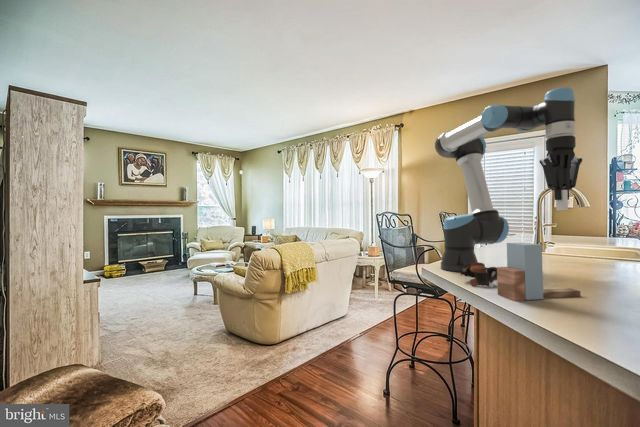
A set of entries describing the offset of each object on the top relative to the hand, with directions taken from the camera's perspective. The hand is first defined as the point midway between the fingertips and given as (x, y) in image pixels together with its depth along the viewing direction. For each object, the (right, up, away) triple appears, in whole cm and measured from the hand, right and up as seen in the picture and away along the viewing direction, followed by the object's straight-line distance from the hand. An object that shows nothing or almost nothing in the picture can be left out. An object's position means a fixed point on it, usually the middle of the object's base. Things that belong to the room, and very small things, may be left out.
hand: (562, 210), depth 98 cm
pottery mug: (-24, -25, +5) cm, 35 cm away
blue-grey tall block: (-20, -25, -12) cm, 34 cm away
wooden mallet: (-16, -25, -12) cm, 31 cm away
